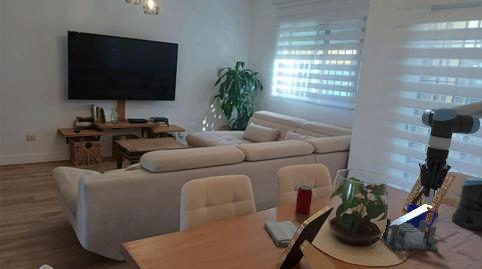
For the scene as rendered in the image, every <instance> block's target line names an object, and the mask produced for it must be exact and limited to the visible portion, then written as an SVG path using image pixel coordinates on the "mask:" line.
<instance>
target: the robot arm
mask: <svg viewBox="0 0 482 269" xmlns="http://www.w3.org/2000/svg"><path fill="white" fill-rule="evenodd" d="M481 119H482V101H475V102H472V103H467V104H461V105H456V106H452V107H436V108H433V109H430V108H429V109H426V110H424V112H423V113H422V115H421V122H422V124H423V125H424V126H426V127H429V128H430V132H429V137H428V138H429V139H428V146H427V148H426V158H425V159H424V161H423V162H419V163H418V166H419V171H420V175H419V176H420V186H421V187H422V188H424V193H423V196H424V200H423V204H424V205H425V204H426V205H429V206H431V207H432V204H433V198H434V197H435V195H436V191H438V190H439V189H441V188H442V187H443V185H444V184H443V183H444V181H445V179H446V177H447V175H448V172H449V171H450V170H451V168H452V166H451V165H449V164H448V163H447V159H448V158H449V154H450V150H449V149H450V147H451V144H452V140H453V134H464V135H470V134H471V135H472V134H475V133H477V132H478V131H479V130H480V128H481V121H480V120H481ZM461 186H462V187H461V192H460V197H459V203H458V206H457V208H456V209H455V211H454V212H453V213H452V215H451V221H452V222H453V223H454V224H456V225H457V226H459V227H460V226H461V227H462V228H465V229H468V230H473V231H478V232H482V177H473V176H471V177H466V178H465V179H464V180H463V183H462V185H461Z"/></svg>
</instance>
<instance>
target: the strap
mask: <svg viewBox="0 0 482 269" xmlns="http://www.w3.org/2000/svg"><path fill="white" fill-rule="evenodd" d="M420 206H421V207H420V208H418V209H416V210H414V211H412V212H410V213H408V214H407V213H406V214H405V215H402V216H400V217H398V218H397V219H395V220H393V221H390V223H387V226H388V227H389V230H392V225H393V224H397V225H399V226H400V225H402V224H406V222H408V221H410V220H412V219H414V218H416V217H418V216H420V215H422V214H423V213H425V212H427V211H429V210H430V211H432V210H433V209H434V208H433V207H432V205H431V206H429V205H426V204H425V203H424V204H423V205H420Z"/></svg>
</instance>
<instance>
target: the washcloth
mask: <svg viewBox="0 0 482 269" xmlns="http://www.w3.org/2000/svg"><path fill="white" fill-rule="evenodd" d="M263 226H264V227H265V229H266V231H267V232H268V234H269V235H270V236H271V237H272V239H273V240H274V242H275V244H276V246H284V247H285V246H288V244H289V242H290V240H291V238H292V237H293V235H294V233H295V232H296V230H297V229H298V227H297V226H296V225H295V224H294V223H293V222H292V221H289V220H285V221H269V222H268V221H266V222H264V224H263Z"/></svg>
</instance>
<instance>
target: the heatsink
mask: <svg viewBox="0 0 482 269" xmlns="http://www.w3.org/2000/svg"><path fill="white" fill-rule="evenodd" d="M386 218H387V223H391V219H390V218H389V217H386ZM411 225H412V224H406V223H404V224H402V225H400V226H399V225H397V224H393V225H392V229H390V228H389V227H388V226H387V225H386V229H385V232H384V233H383V236H382V238H381V240H382V241H383V242H384V243H385V244H384V243H383V242H382V241H381V240H380V241H381V242H382V243H383V244H384V245H385V246H387V247H388V248H389V249H390V250H391V251H438V250H439V247H437V246H436V245H435V244H434V240H435V235H436V232H437V230H436V229H437V226H436V225H435V226H434V225H431V226H429V227H428V230H427V231H428V232H427V235H426V238H424V237H425V233H426V228H427V227H426V225H427V220H426V219H425V220H420V224H419V229H418V228H414V227H415V226H411ZM389 230H390V231H391V232H390V233H389Z"/></svg>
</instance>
